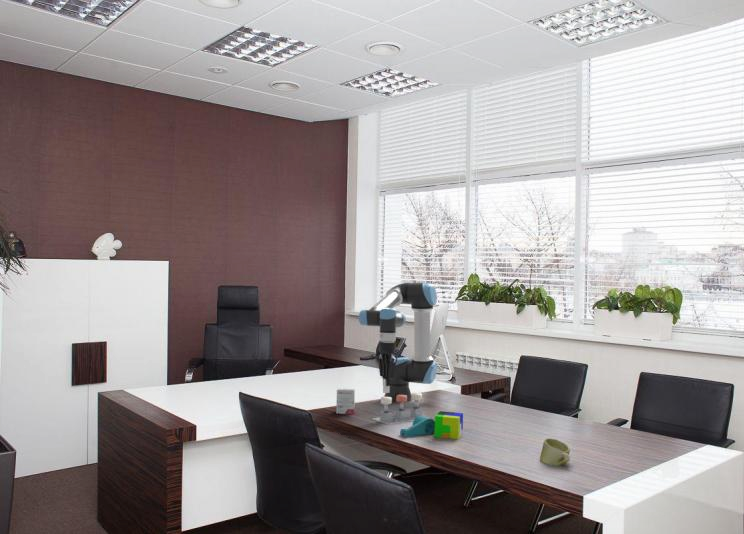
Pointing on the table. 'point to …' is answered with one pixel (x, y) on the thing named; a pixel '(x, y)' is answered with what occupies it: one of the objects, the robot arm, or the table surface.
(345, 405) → the ink box
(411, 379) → the robot arm
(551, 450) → the mug
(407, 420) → the console
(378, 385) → the table surface
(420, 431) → the tape dispenser
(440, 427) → the puzzle toy
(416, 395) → the knob inner
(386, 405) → the knob outer
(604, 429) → the table surface
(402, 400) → the knob mid
